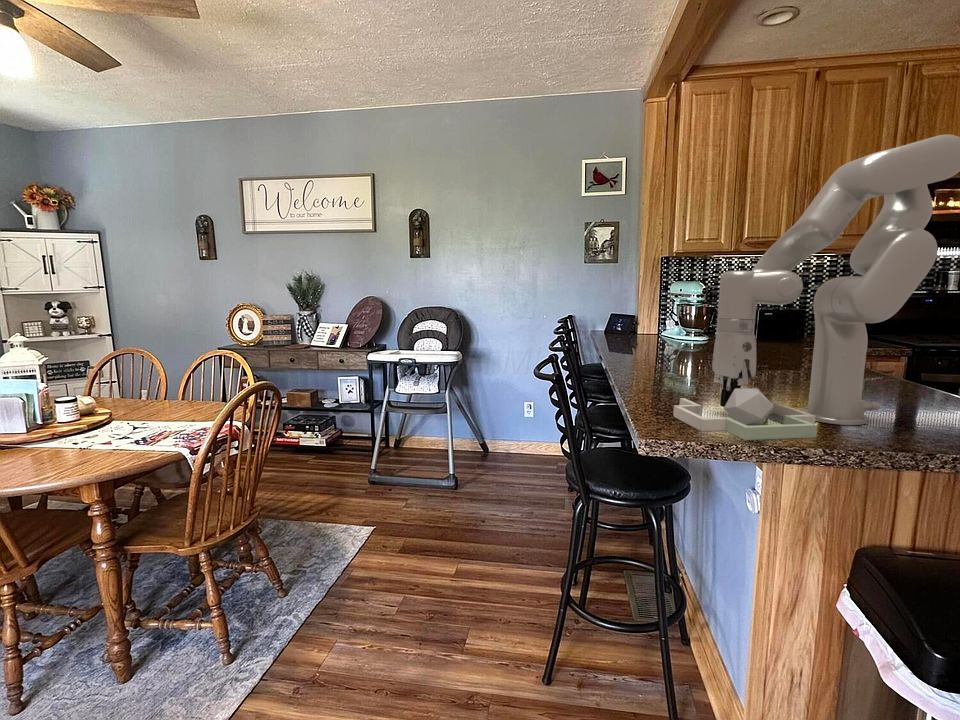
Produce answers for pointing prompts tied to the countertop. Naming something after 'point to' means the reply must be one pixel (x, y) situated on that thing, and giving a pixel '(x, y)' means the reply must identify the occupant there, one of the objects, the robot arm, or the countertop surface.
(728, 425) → the dice tray
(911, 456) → the countertop surface
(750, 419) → the die
